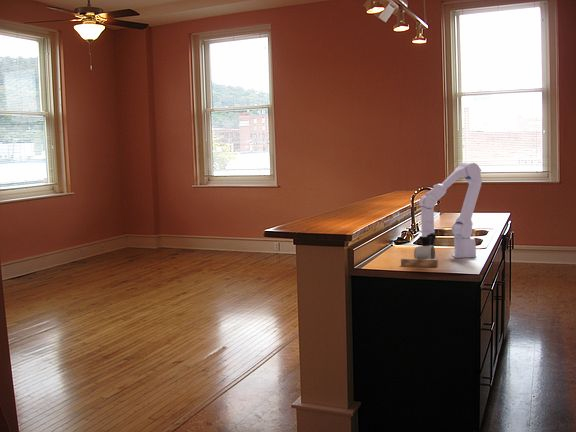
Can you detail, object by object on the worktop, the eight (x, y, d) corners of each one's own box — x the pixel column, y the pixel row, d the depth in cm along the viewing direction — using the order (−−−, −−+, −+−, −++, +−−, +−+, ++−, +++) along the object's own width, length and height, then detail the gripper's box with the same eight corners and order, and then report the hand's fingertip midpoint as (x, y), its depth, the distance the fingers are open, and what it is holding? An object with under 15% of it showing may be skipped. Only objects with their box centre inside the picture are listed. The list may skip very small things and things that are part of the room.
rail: (401, 265, 290) (400, 259, 289) (402, 264, 291) (402, 258, 291) (436, 266, 283) (436, 260, 282) (437, 266, 284) (437, 259, 284)
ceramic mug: (418, 260, 301) (417, 243, 300) (435, 260, 297) (435, 244, 296) (411, 264, 292) (410, 247, 291) (429, 265, 288) (428, 248, 287)
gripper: (422, 219, 309) (423, 247, 311) (415, 223, 296) (415, 252, 298) (437, 219, 306) (438, 248, 307) (430, 223, 293) (431, 252, 294)
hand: (428, 250), depth 302 cm, fingers open, 7 cm apart
